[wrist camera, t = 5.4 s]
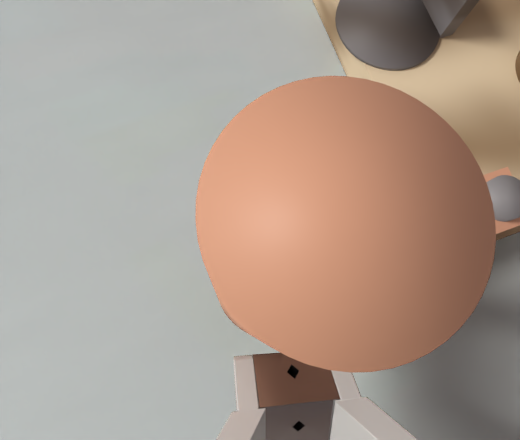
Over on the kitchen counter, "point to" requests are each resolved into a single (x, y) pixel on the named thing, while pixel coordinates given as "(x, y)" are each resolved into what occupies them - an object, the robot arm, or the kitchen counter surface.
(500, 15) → the wooden peg stand
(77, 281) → the kitchen counter surface
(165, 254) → the kitchen counter surface
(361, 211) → the hinged leg
